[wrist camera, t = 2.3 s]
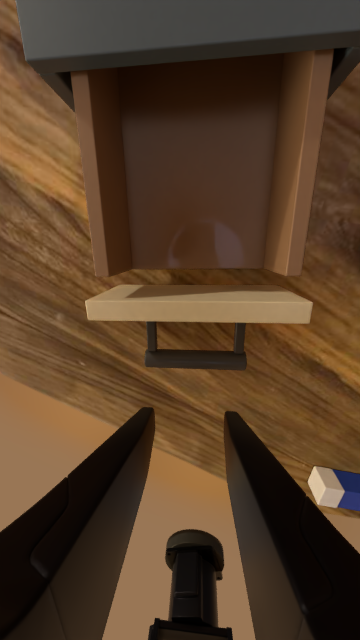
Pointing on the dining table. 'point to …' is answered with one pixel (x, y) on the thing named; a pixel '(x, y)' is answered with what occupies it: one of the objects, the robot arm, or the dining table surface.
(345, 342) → the dining table surface
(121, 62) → the cabinet
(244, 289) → the drawer
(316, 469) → the eraser
